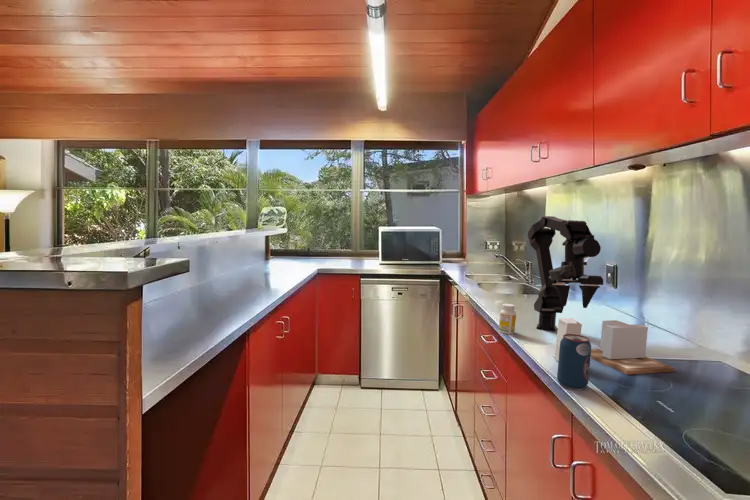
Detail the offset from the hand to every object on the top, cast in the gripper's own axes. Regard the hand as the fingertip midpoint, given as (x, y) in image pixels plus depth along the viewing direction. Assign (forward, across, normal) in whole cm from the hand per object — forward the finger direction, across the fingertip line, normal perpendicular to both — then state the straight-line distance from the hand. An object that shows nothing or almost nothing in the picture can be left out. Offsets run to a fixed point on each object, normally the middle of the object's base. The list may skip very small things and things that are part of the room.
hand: (574, 306), depth 145 cm
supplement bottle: (+10, -17, -14) cm, 24 cm away
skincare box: (+15, +14, -15) cm, 26 cm away
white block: (+13, +14, +3) cm, 19 cm away
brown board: (+15, +17, +3) cm, 22 cm away
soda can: (+18, +28, -26) cm, 42 cm away
